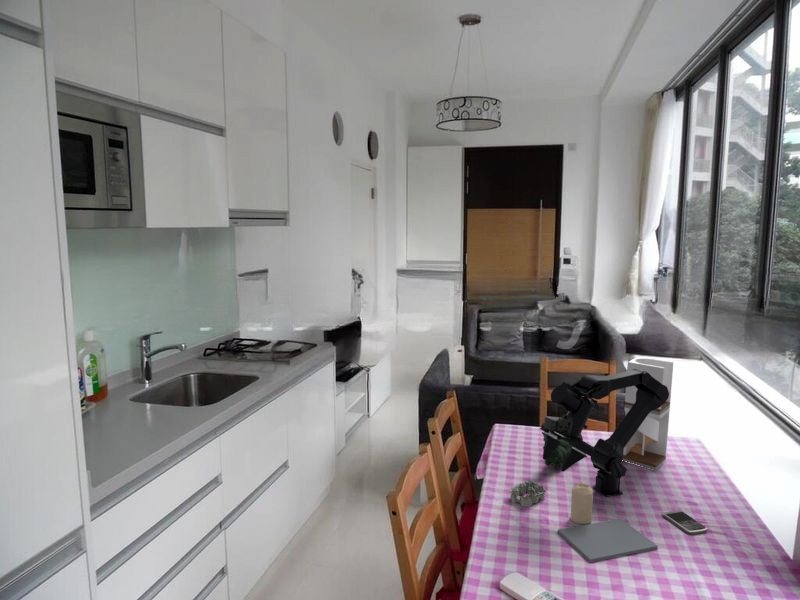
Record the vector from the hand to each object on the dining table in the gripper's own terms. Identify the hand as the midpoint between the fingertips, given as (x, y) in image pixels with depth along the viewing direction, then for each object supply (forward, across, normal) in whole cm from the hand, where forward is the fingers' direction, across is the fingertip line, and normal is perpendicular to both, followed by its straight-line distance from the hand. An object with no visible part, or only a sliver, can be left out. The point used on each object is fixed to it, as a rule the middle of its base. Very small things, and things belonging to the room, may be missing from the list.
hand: (552, 465), depth 166 cm
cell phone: (-3, +19, +32) cm, 38 cm away
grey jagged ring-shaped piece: (+13, -6, +2) cm, 14 cm away
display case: (-15, -18, +47) cm, 52 cm away
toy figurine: (-1, -26, +23) cm, 35 cm away
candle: (+9, +9, +10) cm, 16 cm away
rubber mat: (+10, +20, +10) cm, 24 cm away
